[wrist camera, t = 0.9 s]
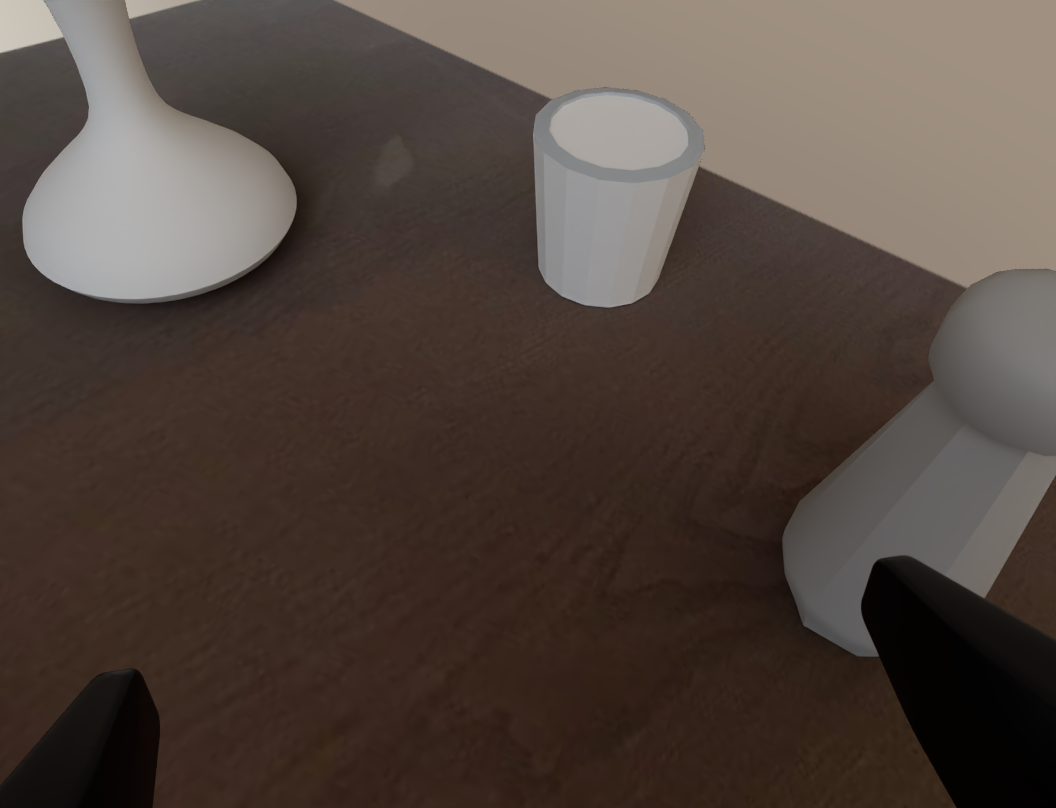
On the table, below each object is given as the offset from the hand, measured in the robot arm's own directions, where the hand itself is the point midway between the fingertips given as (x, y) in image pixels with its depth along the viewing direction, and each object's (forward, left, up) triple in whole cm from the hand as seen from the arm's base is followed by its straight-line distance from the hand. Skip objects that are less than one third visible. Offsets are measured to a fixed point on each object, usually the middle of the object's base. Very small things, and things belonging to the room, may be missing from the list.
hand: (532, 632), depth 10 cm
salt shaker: (+2, -14, -15) cm, 20 cm away
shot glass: (+20, -14, -15) cm, 29 cm away
